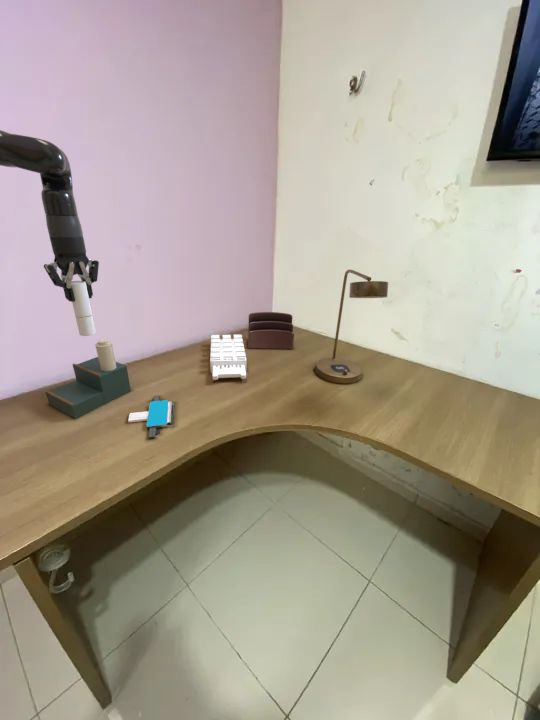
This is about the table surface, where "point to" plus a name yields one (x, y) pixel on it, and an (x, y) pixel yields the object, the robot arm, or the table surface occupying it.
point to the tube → (82, 309)
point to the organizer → (228, 357)
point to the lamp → (334, 366)
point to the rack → (89, 388)
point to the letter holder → (270, 330)
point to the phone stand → (156, 416)
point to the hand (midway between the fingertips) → (80, 299)
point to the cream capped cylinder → (105, 355)
